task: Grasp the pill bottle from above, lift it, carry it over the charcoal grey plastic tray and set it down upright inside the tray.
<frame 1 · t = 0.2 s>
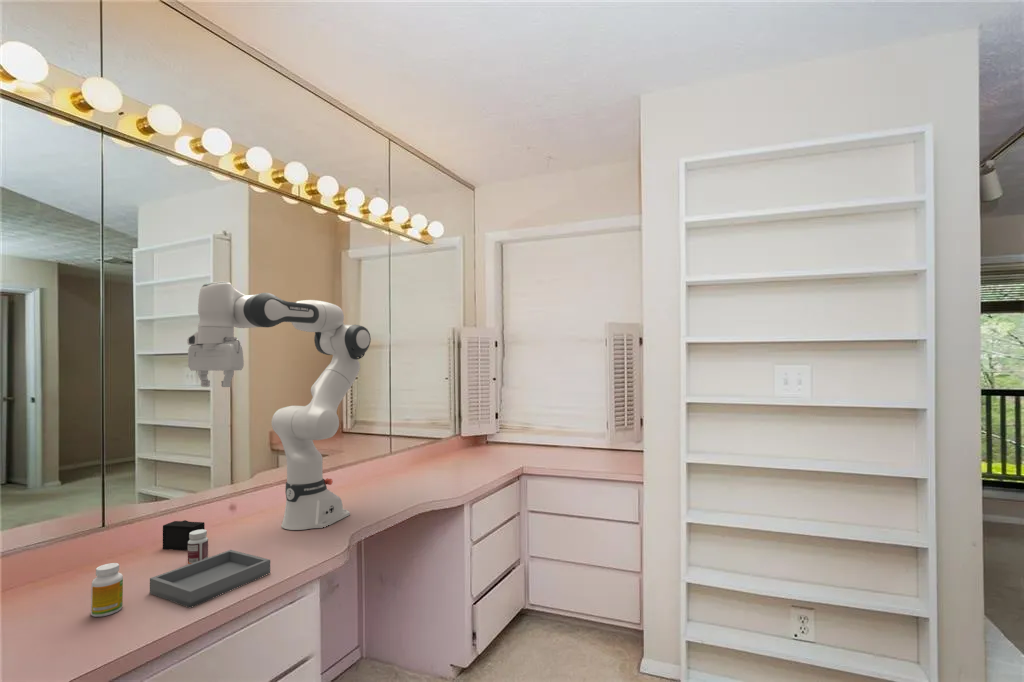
hand: (215, 386, 144), 47 cm above the worktop, tool pointing down, fingers open, 8 cm apart
digital camera: (185, 547, 150), on the worktop
supplement bottle: (107, 612, 111), on the worktop
pill bottle: (197, 563, 137), on the worktop
tray: (212, 583, 125), on the worktop
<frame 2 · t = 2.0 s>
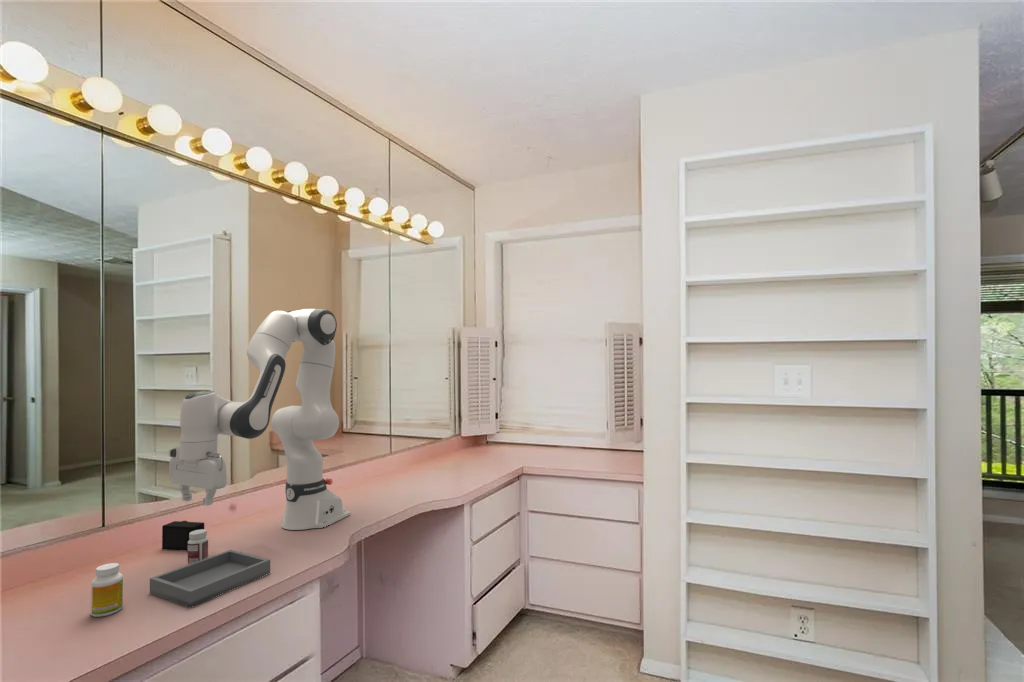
hand: (197, 502, 138), 16 cm above the worktop, tool pointing down, fingers open, 8 cm apart
nothing on the worktop moved.
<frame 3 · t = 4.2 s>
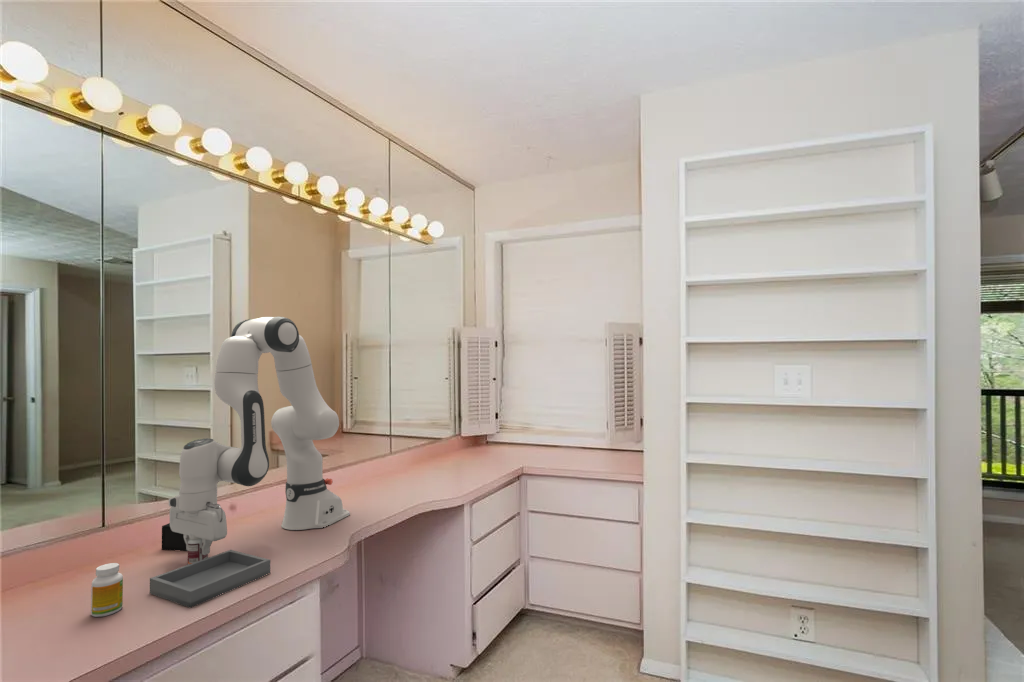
hand: (198, 552, 138), 3 cm above the worktop, tool pointing down, fingers closed on pill bottle, 5 cm apart
pill bottle: (197, 563, 137), on the worktop, touching gripper
everything else where it was.
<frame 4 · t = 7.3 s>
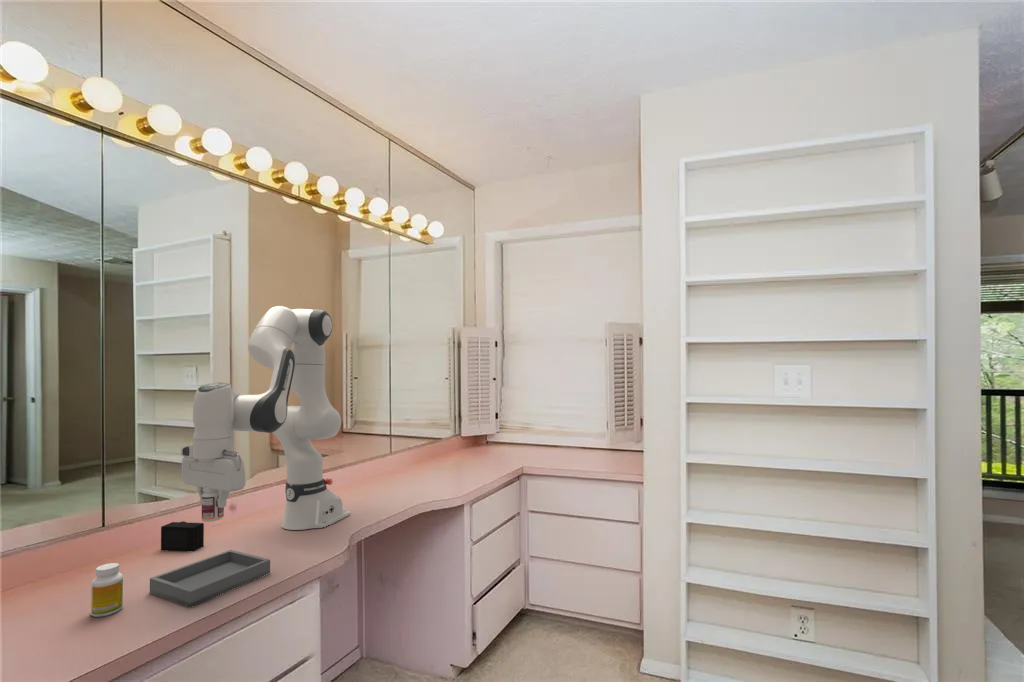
hand: (213, 505, 125), 19 cm above the worktop, tool pointing down, fingers closed on pill bottle, 5 cm apart
pill bottle: (212, 519, 125), point 15 cm above the worktop, touching gripper
everything else where it was.
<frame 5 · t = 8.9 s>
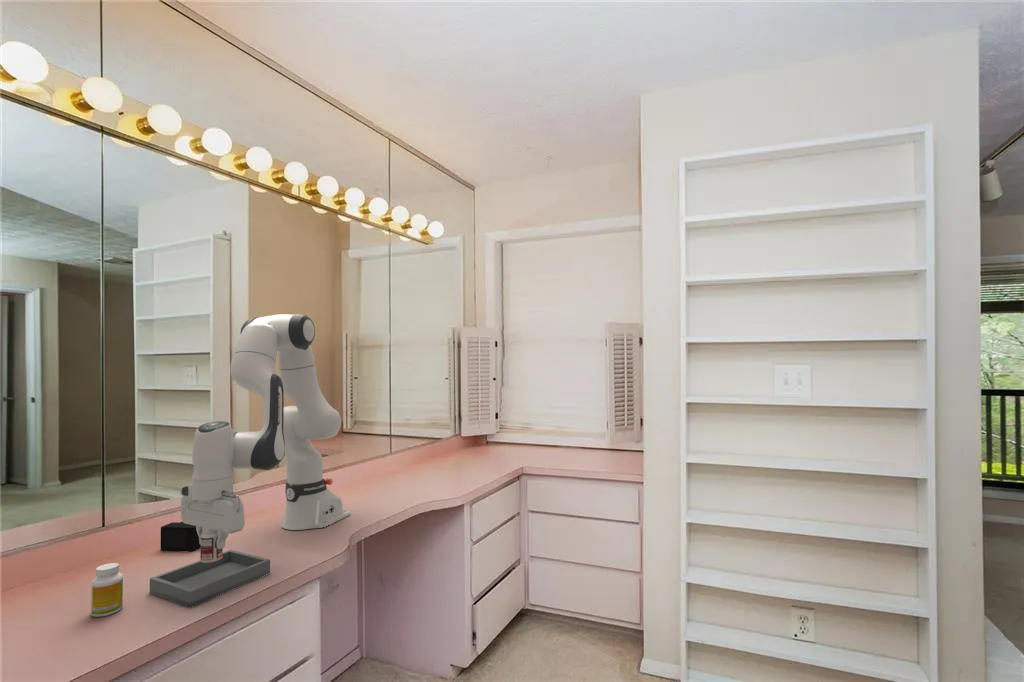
hand: (212, 545, 125), 9 cm above the worktop, tool pointing down, fingers closed on pill bottle, 5 cm apart
pill bottle: (211, 560, 125), point 6 cm above the worktop, touching gripper
when the fingers open (6 cm above the worktop, at t = 10.4 s): pill bottle drops 1 cm, resting on tray.
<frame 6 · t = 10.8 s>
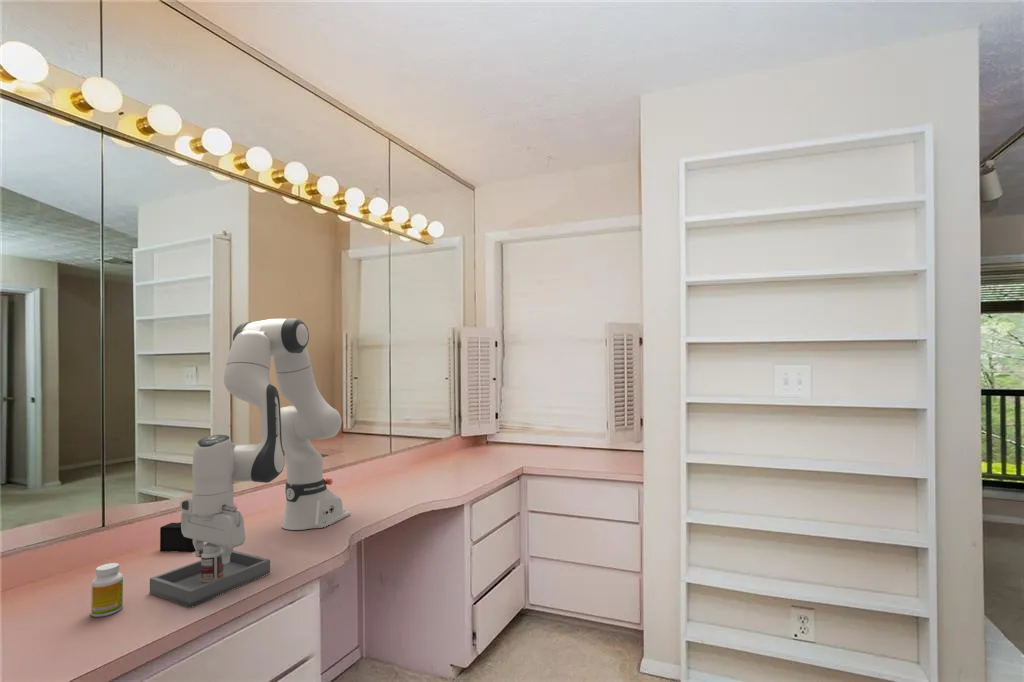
hand: (212, 559, 125), 6 cm above the worktop, tool pointing down, fingers open, 8 cm apart
pill bottle: (212, 579, 125), point 1 cm above the worktop, touching tray
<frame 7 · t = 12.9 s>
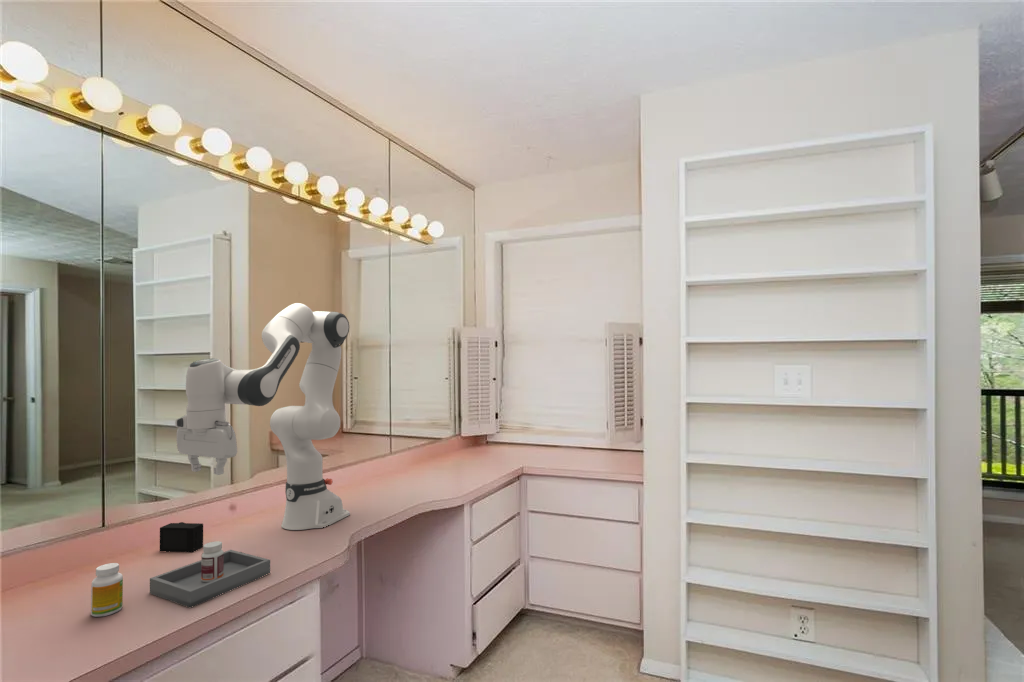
hand: (207, 472, 135), 25 cm above the worktop, tool pointing down, fingers open, 8 cm apart
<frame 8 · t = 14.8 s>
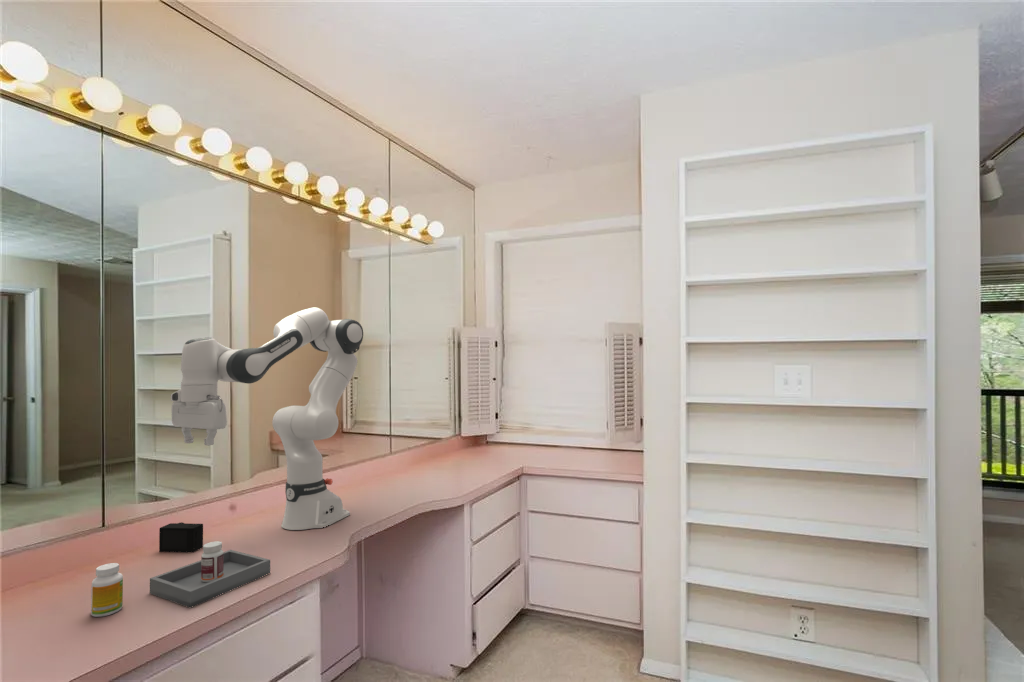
hand: (198, 444, 143), 31 cm above the worktop, tool pointing down, fingers open, 8 cm apart
at the end: pill bottle inside the target area on the tray (0.1 cm from its centre), point 0.8 cm above the tray's base; pill bottle tilted 0°; the gripper is holding nothing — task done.
